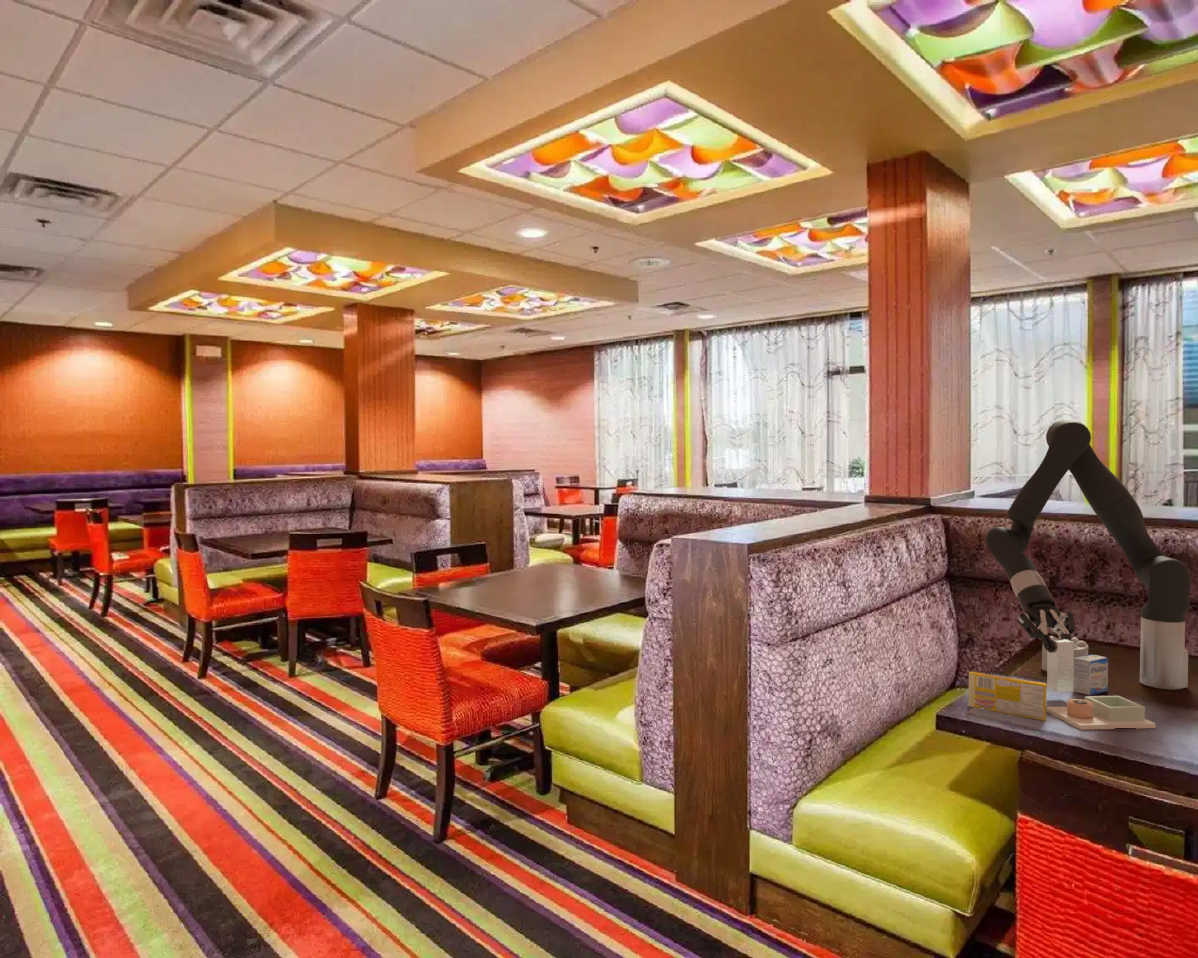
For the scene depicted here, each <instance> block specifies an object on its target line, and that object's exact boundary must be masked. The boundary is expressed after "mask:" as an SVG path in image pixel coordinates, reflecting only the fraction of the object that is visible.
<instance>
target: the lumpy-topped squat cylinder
mask: <svg viewBox="0 0 1198 958" xmlns="http://www.w3.org/2000/svg"><path fill="white" fill-rule="evenodd" d="M1049 636H1050V638H1056V637H1055V636H1053V635H1049ZM1058 638H1060V637H1059V636H1058ZM1070 638H1071V640H1072V641H1073V642H1074V658H1077V657H1082V656H1087V655H1089V645H1088V644H1087V642H1086V641H1084V640H1080V639H1079V638H1078V637H1076V636H1075V637H1070ZM1041 653H1042V655H1041V656H1042V657H1041V669H1042V670H1043V671H1045V672H1047V650H1046V649H1045V647H1044V645H1043V643H1042V651H1041Z"/></svg>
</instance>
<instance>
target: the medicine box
mask: <svg viewBox="0 0 1198 958" xmlns="http://www.w3.org/2000/svg"><path fill="white" fill-rule="evenodd" d="M1108 681H1109V658H1108V657H1106V656H1101V655H1098V654H1088V655H1087V656H1082V657H1077V658H1074V691H1073V693H1077V694H1081V695H1082V694H1083V695H1086V696H1096V695H1098V694H1102V693H1105V692H1108V689H1109V688H1108V686H1109V685H1108V684H1109V683H1108Z"/></svg>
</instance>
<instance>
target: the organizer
mask: <svg viewBox="0 0 1198 958" xmlns="http://www.w3.org/2000/svg"><path fill="white" fill-rule="evenodd" d="M1046 713H1047V714H1050V713H1051V714H1050V715H1052V716H1053V717H1056V718H1058V719H1060V720H1061V721H1064V722H1065V723H1067V724H1068V725H1071V726H1073V727H1075V728H1076V729H1078V730H1081V731H1082V730H1087V731H1088V730H1116V729H1115V728H1136V729H1156V728H1157V727H1156V722H1153V721H1151V720H1149V719H1147V718H1146V706H1143V705H1141V704H1139V703H1137V702H1134V701H1132V700H1129V699H1128V698H1125V697H1123V696H1120V695H1091V696H1088V695H1086V696H1084V699H1079V698H1069V699H1067V700H1066V706H1046Z"/></svg>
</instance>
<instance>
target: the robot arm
mask: <svg viewBox="0 0 1198 958" xmlns="http://www.w3.org/2000/svg"><path fill="white" fill-rule="evenodd" d="M1045 440H1046V445H1047V446H1048V448H1047V450H1046V453H1045V456H1044V458H1043V460H1042V461H1041V463H1040V465H1039V466H1038V468H1037V469H1036V470H1035V471H1034V473H1033V474H1032V476H1031V477H1030V478H1029V479H1027V481H1026V482H1025V484H1023V486H1022V487H1021V488H1020V490H1019V492H1018V493H1017V495H1016V497H1015V499H1014V500H1013V502H1012V503H1011V506H1010V507H1009V509H1008V510H1007V513H1006V515H1007V517H1008V519H1009V520H1010V521H1012V522H1011V526H1010V529H1009V528H1006V527H1005V526H994V527H992V528H990V529H989V530H988V531H987V532H986V537H985V544H986V547H987V549H988V551H989V552H990V554H991V555H992V556H993V558H994V559H995V560H996V562H997V563H998V564H999V565H1000V566H1001V567H1002V569H1003V570H1004V572H1005V574H1006V576H1007V579H1008V581H1009V582H1010V585H1011V588H1012V591H1013V592H1014V594H1015V597H1016V599H1017V602H1018V603H1019V605H1020V607H1021V608H1022V611H1023V612H1024V613H1023V612H1021V613H1020V614H1019V615H1018V617H1017V618H1016V622H1017V623H1018V624H1019V625H1020V626H1021V628H1022V629H1024V631H1025V632H1026V633H1027V634H1028V635H1029V636H1030V638H1033V639H1035V638H1037V639H1039V640H1040V641H1041V643H1042V644H1043V645H1044V647H1045V649H1046V650H1048V652H1049V653H1051V652H1053V651H1054V650H1055V646H1054V644H1053V642H1052V640H1051V638H1050V636H1051V635H1049V634H1048V629H1047V628H1049V629H1050V630H1052V632H1053V633H1056V635H1058V638H1059V637H1060V638H1065V639H1068V640H1070V641H1072V640H1071V638H1072V637H1071V636H1072V635H1073V634H1074V633H1075V631H1076V627H1075V621H1074V620H1075V618H1074V615H1073V612H1071V611H1068V612H1067V613H1065V612H1062V611H1060V609H1059V608H1057V607H1056V603H1055V600H1054V598H1053V596H1052V593H1051V592H1050V590H1049V588H1048V586H1047V585H1046V583H1045V580H1044V579H1043V578H1042V576H1041V575H1040V574H1039V572H1038V570H1037V568H1036V566H1035V564H1034V563H1033V561H1032V559H1031V558H1030V557H1029V556H1028V555H1026V554H1025V553H1024V552H1025V551H1026V549H1028V547H1029V543H1030V540H1031V536H1032V534H1033V529H1034V525H1035V522H1036V521H1037V520H1038V517H1040V514H1041V513H1042V512H1043V510H1044V508H1045V506H1046V504H1047V503H1048V501H1049V500H1050V498H1051V496H1052V495H1053V493H1054V491H1055V490H1056V488H1057V486H1058V485H1059V483H1060V482H1061V481H1062V479H1063V478H1064V476H1065V475H1066V474H1067V472H1068V471H1069V472H1070V473H1071V475H1072V476H1073V479H1074V480H1075V482H1076V484H1077V486H1078V487H1079V489H1080V491H1081V493H1082V494H1083V496H1084V498H1085V499H1086V501H1087V503H1088V505H1090V508H1092V510H1093V513H1095V515H1096V517H1098V519H1099V521H1100V522H1101V523H1102V524H1103V526H1104V527H1105V528H1106V529H1107V531H1108V532H1109V534H1110V536H1111V537H1112V538H1113V539H1114V541H1115V542H1116V543H1117V544H1118V546H1119V547H1120V549H1121V550H1122V551H1123V552H1124V555H1125V557H1126V558H1127V560H1128V562H1129V564H1130V565H1131V568H1132V570H1133V572H1134V574H1135V576H1136V577H1137V579H1138V580H1139V582H1140V583H1141V584H1142V585H1143V586H1145V588H1148V596H1147V597H1148V599H1147V602H1146V603H1145V604H1143V605H1142V606H1141V610H1140V648H1139V649H1140V653H1139V656H1140V657H1139V665H1140V666H1139V683H1141V684H1142V685H1144V686H1147V687H1151V688H1156V689H1163V690H1171V691H1172V690H1173V691H1174V690H1175V691H1177V690H1182V689H1184V688H1188V686H1189V685H1188V681H1189V679H1188V675H1189V650H1187V649H1185V648H1186V647H1185V645H1186V642H1185V640H1186V615H1187V613H1188V612H1189V608H1190V602H1191V601H1190V599H1191V585H1192V580H1191V579H1192V577H1191V572H1190V569H1189V568H1188V567H1187V565H1186V564H1185V563H1184V562H1182V561H1180V560H1179V559H1175V558H1171V557H1168V556H1166V555H1165V554H1164V553H1163V552H1162V550H1161V549H1160V548H1159V547H1158V545H1157V544H1156V543H1155V542H1154V541H1153V539H1152V538H1151V536H1150V534H1149V532H1148V530H1147V527H1146V524H1145V523H1146V522H1145V519H1144V516H1143V512H1142V510H1141V507H1140V506H1139V504H1138V503H1137V501H1136V500H1135V498H1134V496H1133V495H1132V494H1131V493H1130V491H1129V490H1128V488H1127V487H1126V486H1125V485H1124V483H1122V481H1121V480H1120V479H1119V478H1118V477H1117V476H1116V474H1114V473H1113V472H1112V471H1111V470H1110V469H1109V468H1108V467H1107V466H1106V465H1105V464H1104V463H1103V462H1102V461H1101V460H1100V458H1099V456H1097V454H1096V452H1095V451H1094V449H1093V447H1092V446H1091V440H1092V435H1091V432H1090V430H1089V428H1088V427H1087V426H1086V425H1085V424H1084V423H1081V422H1079V421H1075V420H1071V419H1070V420H1069V419H1062V420H1061V419H1060V420H1058V421H1055V422H1053V423H1052V424H1051V425H1050V426H1049V427H1048V429H1047V431H1046V434H1045Z"/></svg>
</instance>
